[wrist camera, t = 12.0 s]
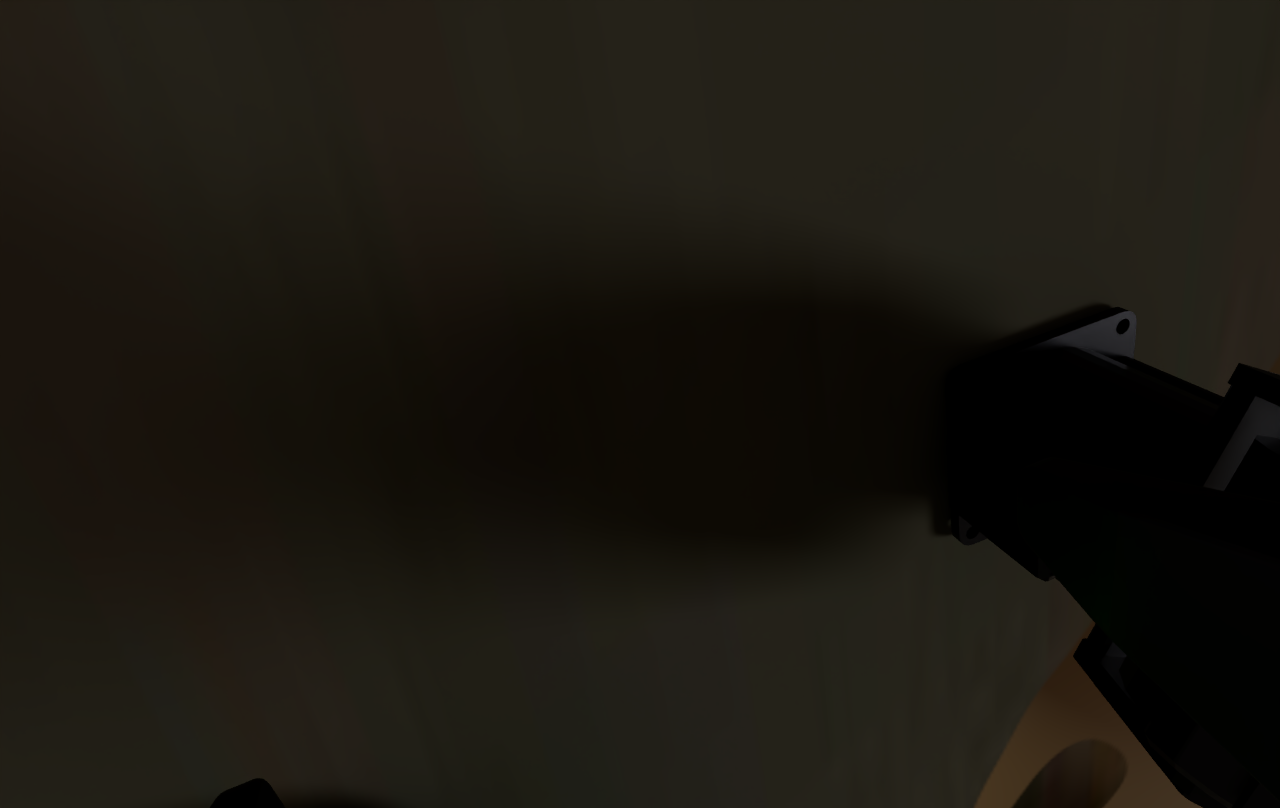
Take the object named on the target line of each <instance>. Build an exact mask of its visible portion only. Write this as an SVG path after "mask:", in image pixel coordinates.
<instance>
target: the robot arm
mask: <svg viewBox="0 0 1280 808" xmlns="http://www.w3.org/2000/svg"><path fill="white" fill-rule="evenodd" d="M1135 334H1136V316H1135V314H1134V313H1133V312H1131V311H1128V310H1125V309H1123V308H1120V307H1115V308H1111V309H1109V310H1106V311H1103V312H1101V313H1098V314H1095V315H1093V316H1090V317H1087V318H1085V319H1082V320H1079V321H1076V322H1074V323H1071V324H1068V325H1066V326H1063V327H1060V328H1058V329H1055V330H1052V331H1050V332H1047V333H1044V334H1041V335H1039V336H1036V337H1033V338H1031V339H1028V340H1025V341H1023V342H1020V343H1017V344H1015V345H1012V346H1009V347H1006V348H1004V349H1001V350H998V351H996V352H993V353H990V354H988V355H985V356H982V357H980V358H977V359H974V360H971V361H969V362H966V363H963V364H961V365H958V366H957V367H955V368H954V369H953V370H952V371H951V372H950V373H949V375H948V377H947V379H946V384H945V388H946V411H947V434H948V442H947V446H946V447H947V469H948V492H949V507H950V508H951V526H952V534H953V536H954V537H955V538H956V539H958V540H959V541H960V542H961V543H962V544H964V545H972V544H975V543H977V542H980V541H982V540H984V539H987V538H988V539H989V540H990V541H991V542H993V543H994V544H995V545H996V546H998V547H999V548H1000V549H1001V550H1003V551H1004V552H1005V553H1006V554H1008V555H1009V556H1010V557H1011V558H1013V559H1014V560H1015V561H1016V562H1018V563H1019V564H1020V565H1021V566H1023V567H1024V568H1025V569H1026V570H1028V571H1029V572H1030V573H1031V574H1033V575H1034V576H1035V577H1037V578H1039V579H1041V580H1043V581H1049V580H1051V579H1054V578H1056V579H1057V580H1058V581H1059V582H1060V583H1061V584H1062V585H1063V586H1064V587H1065V588H1066V590H1067V591H1068V592H1069V593H1070V594H1071V595H1072V597H1073V598H1074V599H1075V600H1076V601H1077V602H1078V604H1079V605H1080V606H1081V607H1082V608H1083V609H1084V610H1085V612H1086V613H1087V614H1088V615H1089V616H1090V617H1091V619H1092V620H1093V621H1094V622H1095V623H1096V624H1095V626H1094V627H1093V629H1092V631H1091V633H1090V634H1089V636H1088V638H1087V639H1086V638H1085V639H1082V641H1081V643H1080V644H1079V646H1078V648H1077V650H1076V651H1075V653H1074V655H1073V657H1074V658H1075V660H1076V661H1077V662H1078V664H1079V665H1080V666H1081V667H1082V669H1083V670H1084V671H1085V672H1086V674H1087V675H1088V676H1089V678H1090V679H1091V680H1092V681H1093V683H1094V684H1095V686H1096V687H1097V688H1098V689H1099V691H1100V692H1101V693H1102V695H1103V696H1104V697H1105V698H1106V700H1107V701H1108V702H1109V703H1110V705H1111V706H1112V707H1113V708H1114V710H1115V711H1116V712H1117V714H1118V715H1119V716H1120V717H1121V719H1122V720H1123V721H1124V723H1125V724H1126V725H1127V726H1128V728H1129V729H1130V730H1131V732H1133V734H1134V735H1135V737H1136V738H1137V739H1138V741H1139V742H1140V743H1141V744H1142V746H1143V747H1144V748H1145V750H1146V751H1147V752H1148V753H1149V755H1150V756H1151V757H1152V759H1153V760H1154V761H1155V762H1156V764H1157V765H1158V766H1159V767H1160V768H1161V770H1162V771H1163V772H1164V773H1165V775H1166V776H1167V777H1168V779H1169V780H1170V781H1171V782H1172V784H1173V785H1174V786H1175V787H1176V789H1177V790H1178V791H1179V792H1180V793H1181V794H1182V795H1183V796H1184V797H1185V798H1187V799H1188V800H1190V801H1191V802H1193V803H1195V804H1197V805H1199V806H1201V807H1203V808H1280V375H1279V374H1275V373H1272V372H1268V371H1265V370H1262V369H1258V368H1255V367H1251V366H1248V365H1245V364H1241V363H1239V364H1238V365H1237V367H1236V369H1235V371H1234V373H1233V374H1232V376H1231V378H1230V380H1229V381H1228V383H1229V384H1231V386H1230V388H1229V390H1228V392H1227V393H1226V395H1225V397H1222V396H1220V395H1217V394H1215V393H1213V392H1210V391H1208V390H1206V389H1203V388H1201V387H1199V386H1196V385H1194V384H1191V383H1189V382H1187V381H1184V380H1182V379H1180V378H1177V377H1175V376H1173V375H1170V374H1168V373H1166V372H1163V371H1161V370H1159V369H1156V368H1154V367H1152V366H1149V365H1147V364H1144V363H1142V362H1140V361H1137V360H1135V359H1134V347H1135ZM966 378H967V381H966V383H965V384H964V385H963V386H962V383H963V381H964V380H965V379H966ZM968 529H969V530H968ZM210 808H285V807H284V805H283V804H282V802H281V801H280V799H279V798H278V796H277V795H276V793H275V791H274V790H273V788H272V787H271V785H270V784H269V783H268V782H267V781H265V780H264V779H261V778H257V779H253V780H250V781H248V782H246V783H243V784H241V785H238V786H236V787H233V788H231V789H228V790H226V791H224V792H223V793H221V794H220V795H219V796H218V797H217V798H216V799H215V801H214V802H213V804H212V805H211V807H210Z"/></svg>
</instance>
